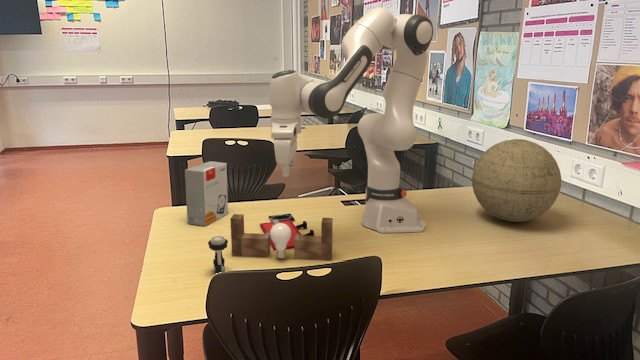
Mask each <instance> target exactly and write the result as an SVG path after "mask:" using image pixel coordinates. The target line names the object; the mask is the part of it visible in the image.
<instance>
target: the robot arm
mask: <svg viewBox="0 0 640 360" xmlns="http://www.w3.org/2000/svg"><path fill="white" fill-rule="evenodd" d="M433 26H434V25H433V22H432V20H431V19H430V18H429V17H427V16H425V15H422V14H411V13H402V14H394V15H393V13H392V12H391V11H390V10H388V9H387V8H386V7H385V8H384V7H382V6H381V7H380V6H377V7H374V8H372V9H371V10H369V11H368V12H367V13H365V14H364V15H363V16H362V17H360V19H358V20H357V21H356V22H355V23H354V24H353V25H352V26H351V27H350V28H349V29H348V31H346V33H345V35H344V36H343V38H342V41H341V49H342V50H341V51H342V53H343V54H344V57H346V62H345V63H343V65H342V66H341V68H340V69H339V70H338V72H337V73H336V74H335V75H334V77H333V78H331V79H330V80H327V81H323V82H322V81H317V80H313V79H309V78H307V77H305V76H303V75H301V74H300V73H298V71H296V70H293V69H291V70H290V69H288V70H282V71H278V72H276V73H273V75H271V78H270V82H269V103H270V106H271V114H270V125H271V130H270V131H271V132H270V136H271V137H270V138H271V139H273V148H274V156H275V162H276V164H277V165H278V166H280V168H281V171H282V172H281V173H282V177H283V178H288V177H289V176H290V169H293V167H294V158H295V154H296V152H297V150H298V141H297V140H298V134H301V133H302V113H307V114H311V115H315V116H317V117H320V118H322V119H325V120H326V119H327V120H328V119H333V118H335V117H336V116H338V115H339V114H340V113H341V111H342V110H343V109H344V106H345V103H346V101H347V98H349V97H348V96H349V95H350V93H351V92H352V90H353V89H354V88H355V87H356V85H357V84H358V83H359V82H360V79H362V77H363V75H364V74H366V71H367V70H368V68H369V67H370V66H371V64H372V62H373V58H374V57H375V56H376V54H378V52H379V51H380V50H381V49H382V48H385V49H392V50H395V55H396V57H395V60H394V62H393V63H392V64H393V65H392V67H391V70H390V72H389V74H388V78H387V81H386V83H385V86H384V88H383V92H382V96H383V98H384V102H385V108H384V113H380V112H373V113H372V112H371V113H367V114H365V115H363V116H362V117H361V118H360V119H359V122H358V124H357V132H358V135H359V136H360V138H361V140H362V143H363V146H364V150H365V154H366V155H365V156H366V160H367V184H366V187H365V202H366V203H365V208H364V213H363V217H362V219H361V225H363V226H364V227H366V228H368V229H371V230H375V231H376V232H378V233H382V234H391V233H397V234H398V233H420V232H424V231H425V229H426V222H425V220H424V219H423V218H421V217H420V213H419V212H420V211H419V209H418V207H417V205H416V204H414V203H413V202H412V201H411V200H410V199H408V198H407V195H408V193H407V191H406V189H405V188H404V186H402V185H400V176H401V165H400V162H399V160H398V159H397V157H396V155H395V154H396V153H395V151H399V152H400V151H403V152H404V151H408V150H409V149H412V147H413V146H414V144H415V142H416V141H417V129H416V126H415V123H414V117H413V115H414V105H415V103H416V102H415V101H416V98H417V97H418V96H417V95H418V92H419V90H420V87H421V84H422V82H423V78H424V76H425V73H426V69H427V64H428V57H429V56H428V52H427V50H428V48H429V47H430V44H431V43H432V40H433V36H434V27H433Z"/></svg>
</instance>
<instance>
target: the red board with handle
mask: <svg viewBox="0 0 640 360" xmlns="http://www.w3.org/2000/svg"><path fill="white" fill-rule="evenodd" d="M268 217H269V219H270V221H269V222H261V223H260V222H259V227H260V229H261V230H262V232H263V234H266V233H270V230H271V228H272V227H273V226H274V225H275V224H277V223H284V224H286V225H288V226H289V227H290V229H291V238H290V240H289V242H288V243H287V247H286V250H292V249H293V250H294V239H295V236H296V234H300V235H303V236H315V231H314V229H309V232H308V233H305V234H302V233H301V232H300V231H299V230H300V229H303V230H305V231H306V230H308V223H307V220H303V221H302V223H301V224H298V225H295V224H294V222H293V220H295V217H294V216H293V214H292V213H283V214H274V215H268ZM270 247H271V249H272V250H273V252H274V251H275V252H277V251H276V250H277V249H276V247H275V244H274V242H273V241H272V240H271V237H270Z"/></svg>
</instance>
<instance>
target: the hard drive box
mask: <svg viewBox="0 0 640 360" xmlns="http://www.w3.org/2000/svg"><path fill="white" fill-rule="evenodd" d="M227 166H228V163H227V162H220V161H211V160H210V161H206V162H203V163H201V164H198V165H195V166H192V167H190V168H186V169H185V170H184V178H185V180H184V181H185V199H186V215H187V216H186V221H187V224H189V225H195V226H200V227H206V226H208V225H210V224H212V223H213V222H215V221H218V220H219V219H221V218H223V217H225V216H227V215H228V214H229V201H228V199H229V198H228V197H229V196H228V171H227V170H228V168H227Z"/></svg>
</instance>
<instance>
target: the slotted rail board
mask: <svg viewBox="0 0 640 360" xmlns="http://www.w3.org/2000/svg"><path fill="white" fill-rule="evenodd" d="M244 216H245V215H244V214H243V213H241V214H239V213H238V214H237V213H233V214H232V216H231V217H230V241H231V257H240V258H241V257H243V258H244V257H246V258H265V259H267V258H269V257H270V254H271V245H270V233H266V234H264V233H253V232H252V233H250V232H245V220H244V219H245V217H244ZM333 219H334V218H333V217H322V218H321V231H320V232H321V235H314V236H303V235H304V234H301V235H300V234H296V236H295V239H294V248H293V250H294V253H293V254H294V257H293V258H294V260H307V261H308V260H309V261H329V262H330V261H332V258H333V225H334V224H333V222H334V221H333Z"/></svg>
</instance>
